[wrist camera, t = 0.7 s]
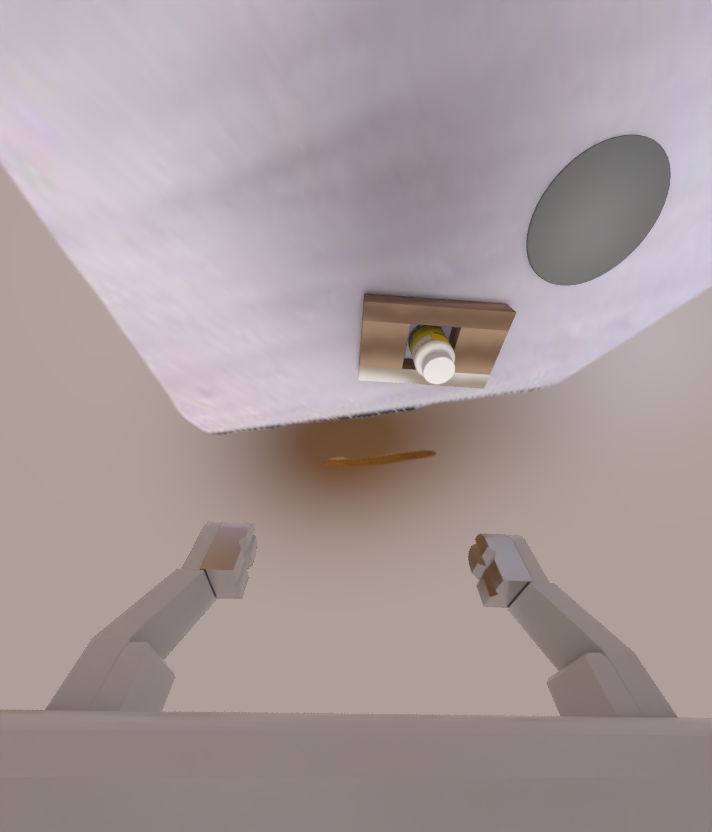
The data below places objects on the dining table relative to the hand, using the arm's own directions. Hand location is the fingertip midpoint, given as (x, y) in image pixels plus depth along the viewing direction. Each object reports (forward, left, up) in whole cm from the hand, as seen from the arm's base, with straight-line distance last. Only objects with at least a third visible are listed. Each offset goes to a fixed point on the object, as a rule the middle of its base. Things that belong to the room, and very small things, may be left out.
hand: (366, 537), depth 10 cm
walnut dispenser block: (+8, +10, -36) cm, 38 cm away
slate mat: (-8, +26, -36) cm, 45 cm away
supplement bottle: (+8, +10, -36) cm, 38 cm away
